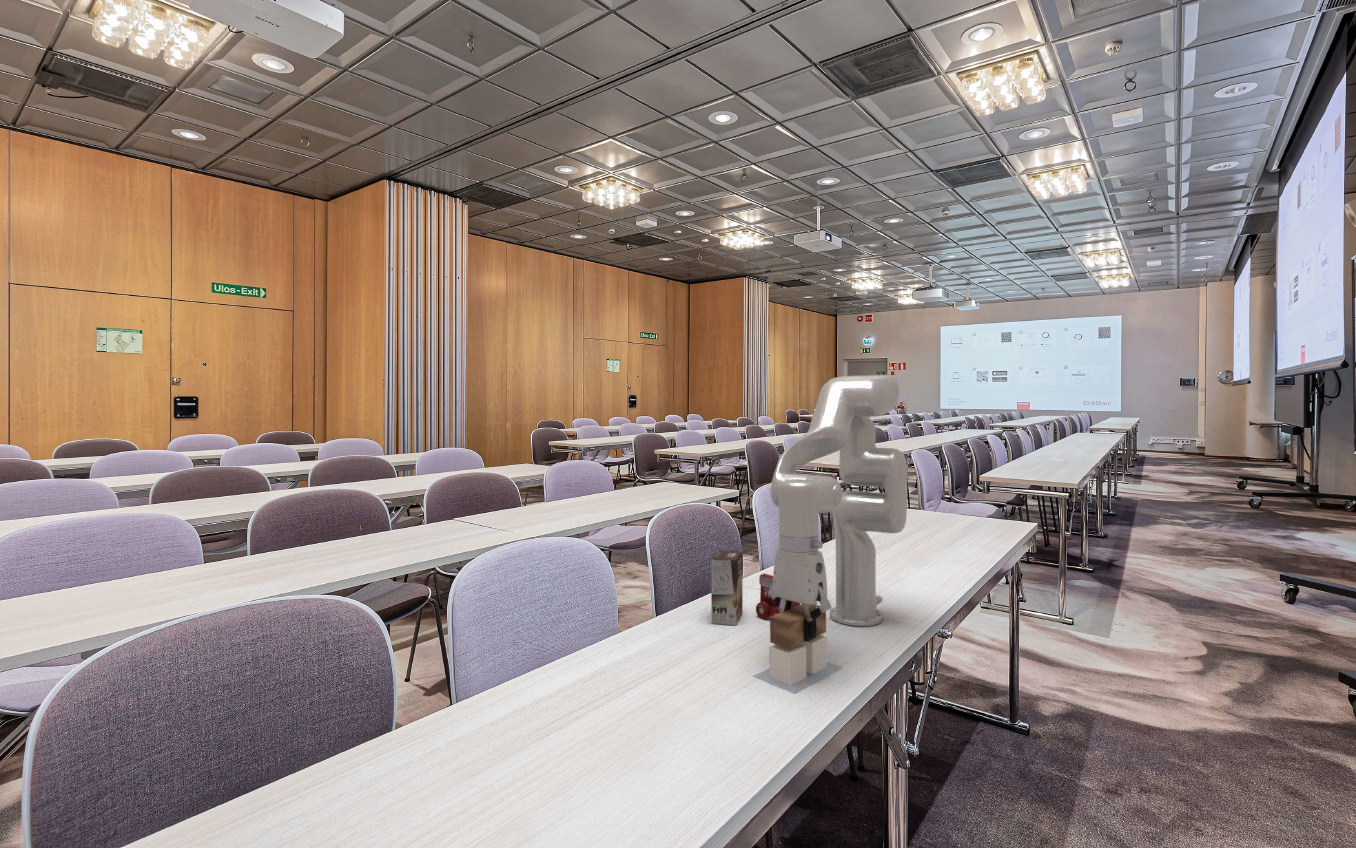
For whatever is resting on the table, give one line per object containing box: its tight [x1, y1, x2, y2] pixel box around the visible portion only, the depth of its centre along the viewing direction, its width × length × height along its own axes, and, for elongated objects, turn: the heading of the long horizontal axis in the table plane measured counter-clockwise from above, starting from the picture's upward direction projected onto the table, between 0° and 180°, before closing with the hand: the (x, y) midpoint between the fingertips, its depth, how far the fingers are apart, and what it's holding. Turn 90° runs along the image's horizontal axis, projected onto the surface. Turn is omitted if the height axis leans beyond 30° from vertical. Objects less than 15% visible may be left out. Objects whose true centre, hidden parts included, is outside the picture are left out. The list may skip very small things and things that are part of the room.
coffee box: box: [710, 550, 744, 626], centre depth 154 cm, size 9×6×16 cm
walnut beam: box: [769, 604, 827, 649], centre depth 121 cm, size 12×4×5 cm, turn 133°
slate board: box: [752, 661, 844, 695], centre depth 121 cm, size 16×10×1 cm, turn 133°
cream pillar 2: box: [801, 634, 828, 674], centre depth 123 cm, size 5×5×6 cm
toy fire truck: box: [755, 573, 801, 620], centre depth 153 cm, size 7×12×10 cm, turn 38°
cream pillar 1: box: [768, 643, 806, 686], centre depth 118 cm, size 5×5×6 cm
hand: (798, 634), depth 121 cm, fingers closed on walnut beam, 4 cm apart
